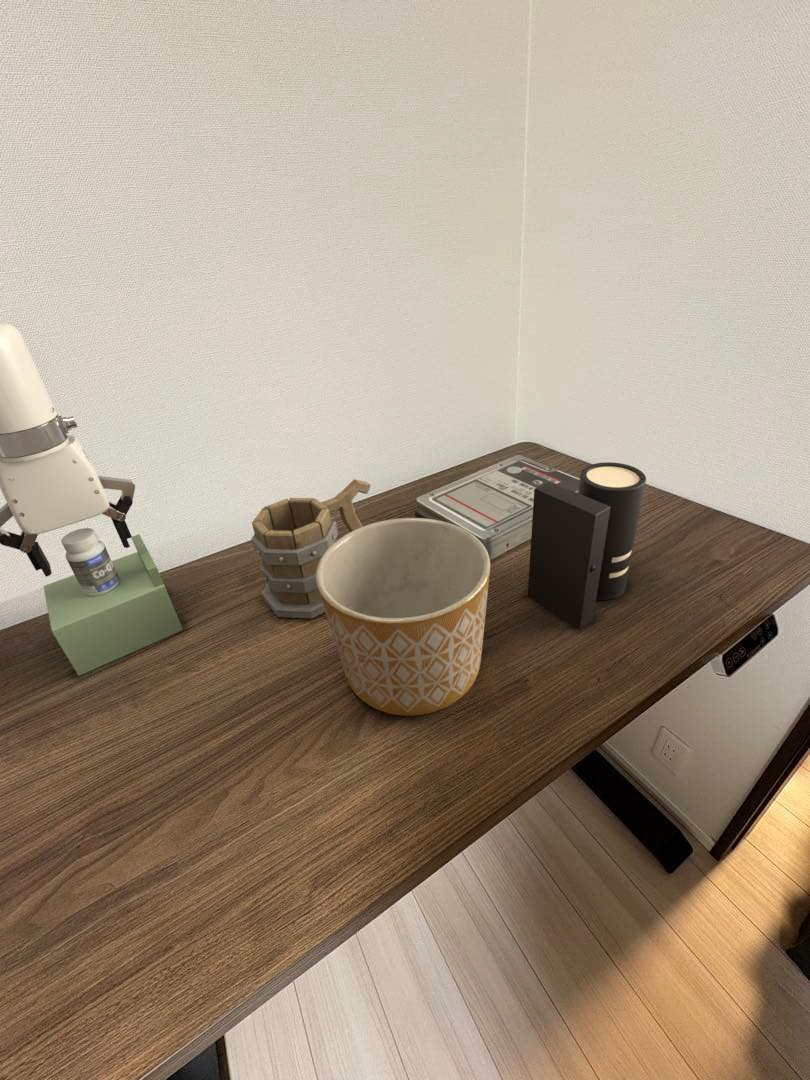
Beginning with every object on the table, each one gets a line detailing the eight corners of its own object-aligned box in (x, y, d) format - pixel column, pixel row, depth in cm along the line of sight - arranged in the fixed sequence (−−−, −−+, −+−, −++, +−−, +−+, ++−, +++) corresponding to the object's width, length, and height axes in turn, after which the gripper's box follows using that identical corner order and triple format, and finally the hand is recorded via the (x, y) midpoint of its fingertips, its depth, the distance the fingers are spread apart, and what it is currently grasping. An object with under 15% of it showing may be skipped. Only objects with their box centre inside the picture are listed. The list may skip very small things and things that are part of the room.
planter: (309, 665, 69) (283, 563, 60) (419, 597, 79) (411, 501, 70) (403, 762, 57) (388, 651, 47) (521, 667, 66) (527, 560, 57)
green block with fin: (78, 676, 71) (40, 613, 65) (68, 628, 80) (33, 568, 73) (183, 629, 77) (157, 568, 71) (162, 590, 86) (138, 532, 80)
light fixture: (641, 586, 77) (665, 477, 67) (581, 630, 71) (597, 516, 61) (586, 558, 84) (600, 454, 74) (526, 595, 78) (532, 487, 68)
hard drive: (415, 520, 98) (413, 499, 95) (518, 473, 110) (519, 453, 108) (484, 563, 85) (484, 540, 82) (592, 505, 97) (595, 483, 95)
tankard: (289, 631, 75) (265, 544, 67) (254, 589, 84) (229, 507, 76) (402, 574, 84) (394, 490, 76) (360, 541, 93) (348, 464, 85)
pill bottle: (107, 597, 72) (81, 546, 67) (76, 596, 72) (49, 545, 68) (127, 576, 75) (104, 526, 71) (98, 575, 76) (73, 525, 72)
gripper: (102, 410, 68) (148, 523, 78) (-59, 449, 61) (13, 569, 70) (113, 425, 63) (160, 544, 72) (-63, 470, 55) (15, 597, 65)
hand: (88, 557), depth 71 cm, fingers open, 9 cm apart
